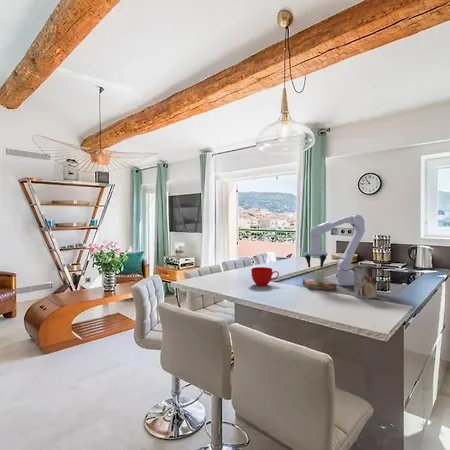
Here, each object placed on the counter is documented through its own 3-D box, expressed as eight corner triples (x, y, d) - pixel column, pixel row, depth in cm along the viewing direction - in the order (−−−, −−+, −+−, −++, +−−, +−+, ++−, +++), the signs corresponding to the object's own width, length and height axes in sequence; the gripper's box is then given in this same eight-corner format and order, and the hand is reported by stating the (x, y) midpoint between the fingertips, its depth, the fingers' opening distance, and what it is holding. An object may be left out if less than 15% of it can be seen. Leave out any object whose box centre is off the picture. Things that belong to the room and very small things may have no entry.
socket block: (328, 284, 195) (328, 279, 195) (336, 289, 181) (336, 284, 181) (302, 284, 195) (302, 279, 195) (308, 289, 181) (308, 284, 181)
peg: (321, 285, 190) (321, 270, 189) (323, 286, 186) (323, 271, 185) (314, 285, 190) (315, 270, 189) (316, 286, 186) (316, 271, 185)
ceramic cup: (278, 288, 185) (278, 271, 185) (250, 286, 188) (250, 270, 188) (279, 283, 198) (279, 267, 197) (252, 282, 201) (252, 266, 201)
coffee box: (368, 294, 168) (368, 265, 168) (376, 297, 162) (377, 267, 162) (353, 296, 166) (353, 266, 165) (361, 299, 160) (362, 267, 159)
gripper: (305, 246, 191) (305, 268, 192) (329, 246, 191) (329, 268, 192) (302, 245, 198) (302, 266, 199) (325, 245, 198) (325, 266, 199)
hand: (315, 267), depth 196 cm, fingers open, 7 cm apart
